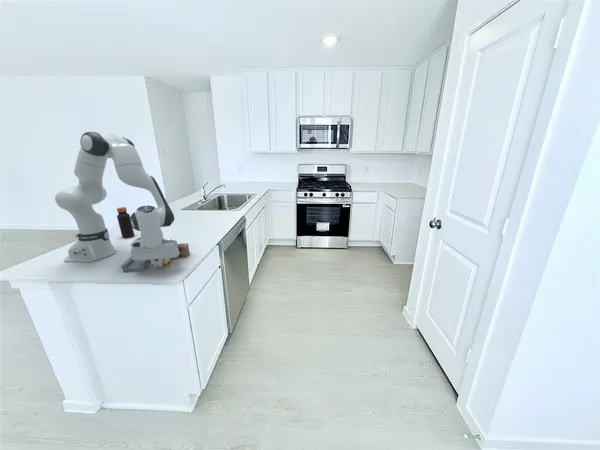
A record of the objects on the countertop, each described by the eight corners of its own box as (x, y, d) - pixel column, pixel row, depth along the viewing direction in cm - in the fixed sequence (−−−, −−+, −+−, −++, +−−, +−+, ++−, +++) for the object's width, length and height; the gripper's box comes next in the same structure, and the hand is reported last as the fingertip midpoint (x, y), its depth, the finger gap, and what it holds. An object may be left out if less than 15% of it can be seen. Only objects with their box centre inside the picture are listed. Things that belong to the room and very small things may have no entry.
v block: (144, 270, 119) (142, 263, 118) (123, 272, 118) (121, 265, 117) (152, 261, 129) (151, 254, 128) (132, 263, 127) (131, 256, 126)
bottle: (119, 238, 162) (112, 208, 156) (129, 234, 168) (122, 206, 162) (127, 239, 160) (120, 209, 154) (136, 235, 166) (130, 207, 160)
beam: (149, 259, 131) (147, 249, 129) (153, 255, 135) (151, 245, 134) (187, 256, 134) (185, 246, 132) (189, 253, 138) (187, 243, 137)
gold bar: (166, 267, 124) (167, 260, 123) (158, 266, 123) (158, 259, 122) (174, 257, 135) (174, 250, 134) (166, 256, 134) (167, 249, 133)
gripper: (178, 236, 119) (183, 261, 124) (132, 239, 116) (139, 265, 121) (174, 241, 113) (179, 267, 118) (126, 244, 110) (133, 271, 115)
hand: (158, 266), depth 119 cm, fingers closed
